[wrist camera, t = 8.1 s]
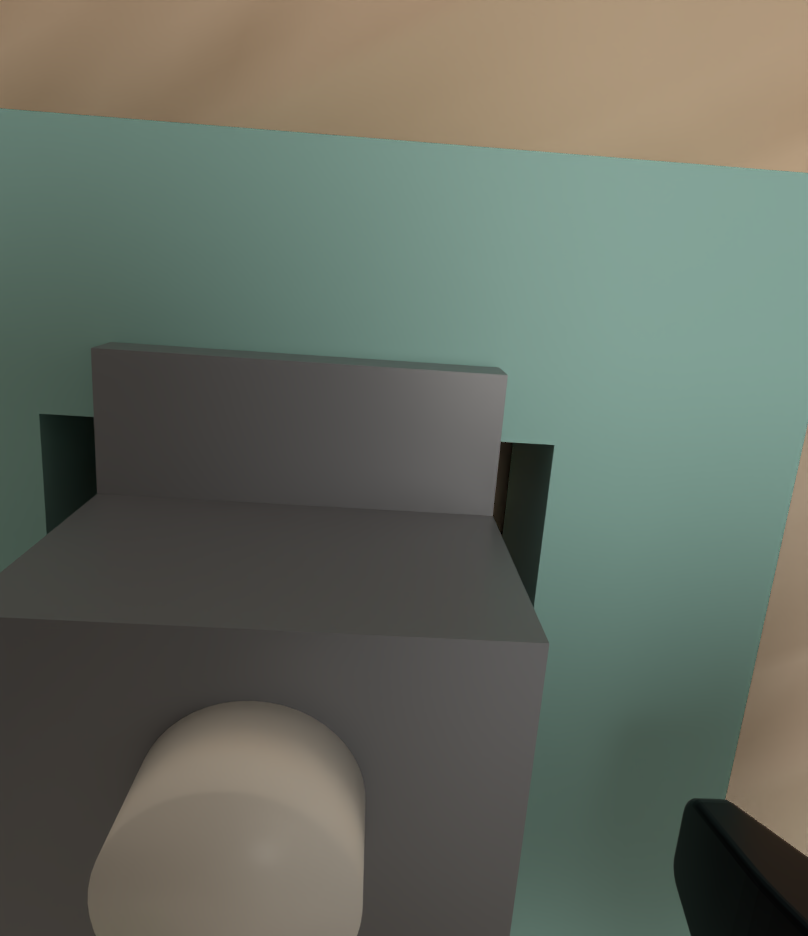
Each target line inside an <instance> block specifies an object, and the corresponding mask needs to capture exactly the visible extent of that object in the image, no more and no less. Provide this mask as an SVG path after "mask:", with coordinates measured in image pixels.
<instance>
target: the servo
mask: <svg viewBox="0 0 808 936" xmlns="http://www.w3.org/2000/svg"><path fill="white" fill-rule="evenodd" d="M91 365H92V388H93V411H94V434H95V457H96V480H97V494H96V495H95V496H94V497H93V498H91V499H90V500H89V501H88V502H86V503H85V504H84V505H83V506H81V507H80V508H79V509H78V510H77V511H75V512H74V513H73V514H72V515H70V516H69V517H68V518H67V519H65V520H64V521H63V522H62V523H61V524H59V525H58V526H57V527H56V528H54V529H53V530H52V531H51V532H49V533H48V534H47V535H46V536H45V537H43V538H42V539H41V540H40V541H38V542H37V543H36V544H35V545H34V546H32V547H31V548H30V549H29V550H27V551H26V552H25V553H24V554H22V555H21V556H20V557H19V558H18V559H16V560H15V561H14V562H13V563H11V564H10V565H9V566H8V567H6V568H5V569H4V570H3V571H2V572H0V936H510V931H511V923H512V916H513V908H514V901H515V894H516V886H517V879H518V872H519V864H520V857H521V849H522V842H523V835H524V827H525V820H526V813H527V805H528V798H529V790H530V783H531V776H532V768H533V761H534V754H535V746H536V739H537V731H538V724H539V717H540V709H541V702H542V695H543V687H544V680H545V672H546V665H547V658H548V650H549V641H548V639H547V637H546V635H545V632H544V630H543V628H542V626H541V623H540V621H539V619H538V617H537V614H536V612H535V610H534V608H533V605H532V603H531V601H530V599H529V596H528V594H527V592H526V590H525V587H524V585H523V583H522V581H521V578H520V576H519V574H518V572H517V569H516V567H515V565H514V563H513V560H512V558H511V556H510V554H509V551H508V549H507V547H506V545H505V542H504V540H503V538H502V536H501V533H500V531H499V529H498V527H497V524H496V522H495V520H494V518H493V509H494V500H495V491H496V481H497V472H498V463H499V453H500V444H501V435H502V425H503V416H504V407H505V397H506V388H507V379H508V375H507V374H506V373H505V372H504V371H503V370H501V369H500V368H499V367H484V366H468V365H453V364H438V363H423V362H408V361H393V360H377V359H362V358H347V357H332V356H317V355H301V354H286V353H271V352H256V351H241V350H225V349H210V348H195V347H180V346H165V345H149V344H134V343H119V342H109V343H106V344H102V345H99V346H96V347H92V348H91Z"/></svg>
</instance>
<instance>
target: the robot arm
mask: <svg viewBox="0 0 808 936" xmlns="http://www.w3.org/2000/svg"><path fill="white" fill-rule="evenodd" d="M673 870H674V878H675V884H676V887H677V891H678V894H679V898H680V901H681V904H682V908H683V911H684V915H685V918H686V921H687V925H688V928H689V932H690V935H691V936H808V857H807V856H805V855H804V854H803V853H801V852H800V851H798V850H797V849H796V848H794V847H793V846H791V845H790V844H789V843H787V842H786V841H784V840H783V839H782V838H780V837H779V836H778V835H776V834H775V833H773V832H772V831H771V830H769V829H768V828H766V827H765V826H764V825H762V824H761V823H759V822H758V821H757V820H755V819H754V818H752V817H751V816H750V815H748V814H747V813H745V812H744V811H743V810H741V809H740V808H738V807H737V806H736V805H734V804H733V803H731V802H729V801H727V800H724V799H708V798H693V799H691V800H689V801H688V802H687V804H686V805H685V808H684V811H683V815H682V820H681V825H680V830H679V835H678V840H677V845H676V850H675V855H674V863H673Z"/></svg>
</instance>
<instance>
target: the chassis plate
mask: <svg viewBox="0 0 808 936" xmlns="http://www.w3.org/2000/svg"><path fill="white" fill-rule="evenodd" d="M109 342H119V343H134V344H149V345H165V346H180V347H195V348H210V349H225V350H241V351H256V352H271V353H286V354H301V355H317V356H332V357H347V358H362V359H377V360H393V361H408V362H423V363H438V364H453V365H468V366H484V367H499V368H500V369H501V370H503V371H504V372H505V373H506V374H507V375H508V379H507V388H506V397H505V407H504V416H503V425H502V435H501V442H513V446H512V455H511V464H510V472H509V481H508V490H507V499H506V508H505V517H504V526H503V535H502V538H503V540H504V542H505V545H506V547H507V549H508V551H509V554H510V556H511V558H512V560H513V563H514V565H515V567H516V569H517V572H518V574H519V576H520V578H521V581H522V583H523V585H524V587H525V590H526V592H527V594H528V596H529V599H530V601H531V603H532V605H533V608H534V610H535V612H536V614H537V617H538V619H539V621H540V623H541V626H542V628H543V630H544V632H545V635H546V637H547V639H548V641H549V650H548V658H547V665H546V672H545V680H544V687H543V695H542V702H541V709H540V717H539V724H538V731H537V739H536V746H535V754H534V761H533V768H532V776H531V783H530V790H529V798H528V805H527V813H526V820H525V827H524V835H523V842H522V849H521V857H520V864H519V872H518V879H517V886H516V894H515V901H514V908H513V916H512V923H511V931H510V936H691V935H690V932H689V928H688V925H687V921H686V918H685V915H684V911H683V908H682V904H681V901H680V898H679V894H678V891H677V887H676V884H675V878H674V870H673V863H674V855H675V850H676V845H677V840H678V835H679V830H680V825H681V820H682V815H683V811H684V808H685V805H686V804H687V802H688V801H689V800H691V799H693V798H708V799H724V800H725V798H726V793H727V789H728V784H729V779H730V775H731V770H732V766H733V761H734V757H735V752H736V748H737V743H738V738H739V734H740V729H741V725H742V720H743V716H744V711H745V707H746V702H747V697H748V693H749V688H750V684H751V679H752V675H753V670H754V666H755V661H756V657H757V652H758V647H759V643H760V638H761V634H762V629H763V625H764V620H765V616H766V611H767V606H768V602H769V597H770V593H771V588H772V584H773V579H774V575H775V570H776V566H777V561H778V556H779V552H780V547H781V543H782V538H783V534H784V529H785V525H786V520H787V515H788V511H789V506H790V502H791V497H792V493H793V488H794V484H795V479H796V474H797V470H798V465H799V461H800V456H801V452H802V447H803V443H804V438H805V434H806V429H807V424H808V173H801V172H789V171H776V170H764V169H751V168H739V167H726V166H714V165H701V164H689V163H676V162H664V161H651V160H639V159H626V158H614V157H601V156H589V155H576V154H564V153H551V152H539V151H526V150H514V149H501V148H489V147H476V146H464V145H451V144H439V143H426V142H414V141H402V140H389V139H377V138H364V137H352V136H339V135H327V134H314V133H302V132H289V131H277V130H264V129H252V128H239V127H227V126H214V125H202V124H189V123H177V122H164V121H152V120H139V119H127V118H114V117H102V116H89V115H77V114H64V113H52V112H39V111H27V110H14V109H2V108H0V572H2V571H3V570H4V569H5V568H6V567H8V566H9V565H10V564H11V563H13V562H14V561H15V560H16V559H18V558H19V557H20V556H21V555H22V554H24V553H25V552H26V551H27V550H29V549H30V548H31V547H32V546H34V545H35V544H36V543H37V542H38V541H40V540H41V539H42V538H43V537H45V536H46V535H47V534H48V533H49V532H51V531H52V530H53V529H54V528H56V527H57V526H58V525H59V524H61V523H62V522H63V521H64V520H65V519H67V518H68V517H69V516H70V515H72V514H73V513H74V512H75V511H77V510H78V509H79V508H80V507H81V506H83V505H84V504H85V503H86V502H88V501H89V500H90V499H91V498H93V497H94V496H95V495H96V494H97V480H96V457H95V434H94V411H93V388H92V365H91V348H92V347H96V346H99V345H102V344H106V343H109Z"/></svg>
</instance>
